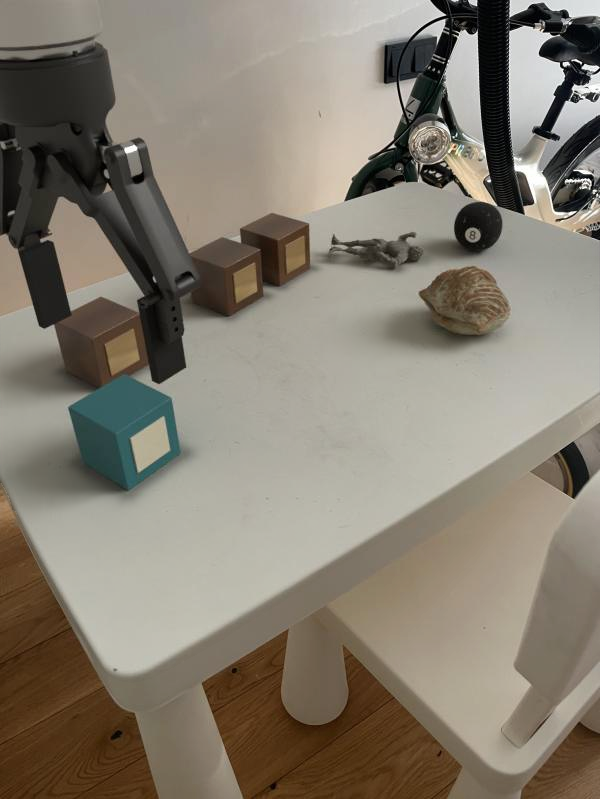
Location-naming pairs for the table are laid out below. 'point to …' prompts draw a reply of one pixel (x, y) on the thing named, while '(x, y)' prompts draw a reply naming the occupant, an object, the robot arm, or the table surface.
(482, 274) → the seashell
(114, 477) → the teal block
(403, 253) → the figurine
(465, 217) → the billiard ball
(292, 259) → the walnut block
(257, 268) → the walnut block
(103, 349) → the walnut block
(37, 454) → the table surface
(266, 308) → the table surface
